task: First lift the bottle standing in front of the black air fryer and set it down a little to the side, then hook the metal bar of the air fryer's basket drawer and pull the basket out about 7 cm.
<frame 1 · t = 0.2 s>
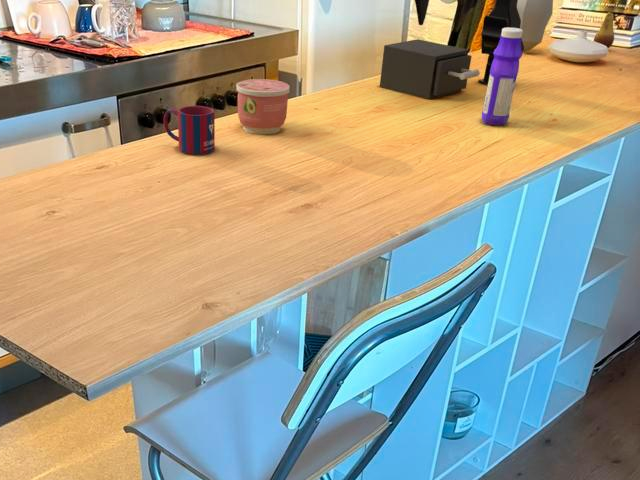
hand: (437, 28, 176), 15 cm above the breakfast bar, tool pointing down, fingers open, 9 cm apart
basket: (438, 72, 189), point 4 cm above the breakfast bar, slide at 0.3 cm
mug: (189, 149, 153), on the breakfast bar
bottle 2: (523, 53, 232), on the breakfast bar
vase: (575, 61, 225), on the breakfast bar
bottle: (493, 123, 173), on the breakfast bar
container: (261, 129, 164), on the breakfast bar
air fryer: (420, 89, 194), on the breakfast bar
fruit: (600, 50, 238), on the breakfast bar
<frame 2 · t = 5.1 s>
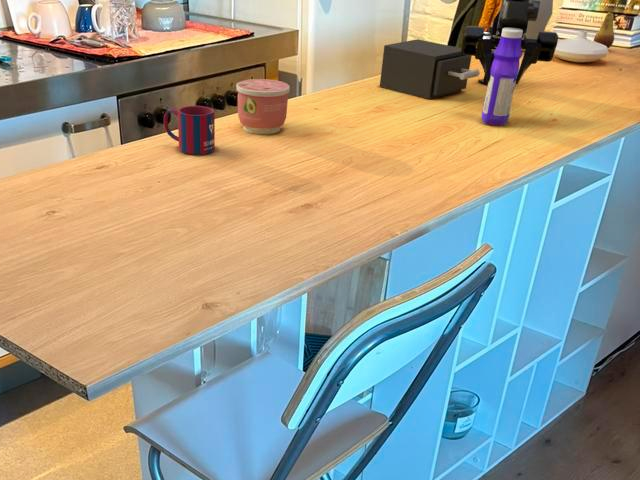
hand: (502, 82, 167), 8 cm above the breakfast bar, tool tilted 45°, fingers closed on bottle, 5 cm apart
bottle: (493, 123, 173), on the breakfast bar, touching gripper
everything else where it was.
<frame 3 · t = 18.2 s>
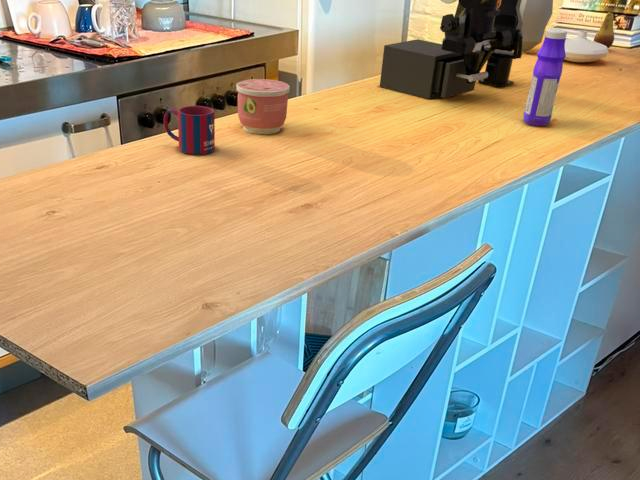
hand: (469, 83, 185), 4 cm above the breakfast bar, tool pointing down, fingers closed, pressing on basket
basket: (446, 73, 188), point 4 cm above the breakfast bar, slide at 2.6 cm, touching gripper
bottle: (535, 123, 174), on the breakfast bar
everything else where it was.
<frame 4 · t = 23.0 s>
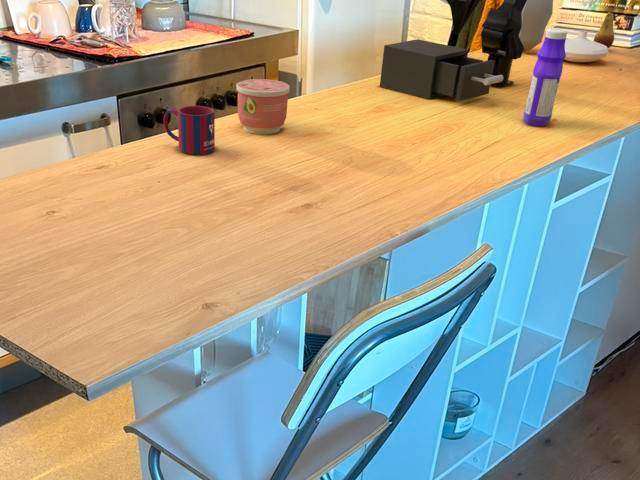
hand: (456, 33, 186), 12 cm above the breakfast bar, tool pointing down, fingers closed
basket: (461, 77, 186), point 4 cm above the breakfast bar, slide at 6.7 cm
everything else where it was.
at the end: basket slide at 6.7 cm; bottle inside the target area (0.1 cm from its centre), on the breakfast bar; bottle tilted 0° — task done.
